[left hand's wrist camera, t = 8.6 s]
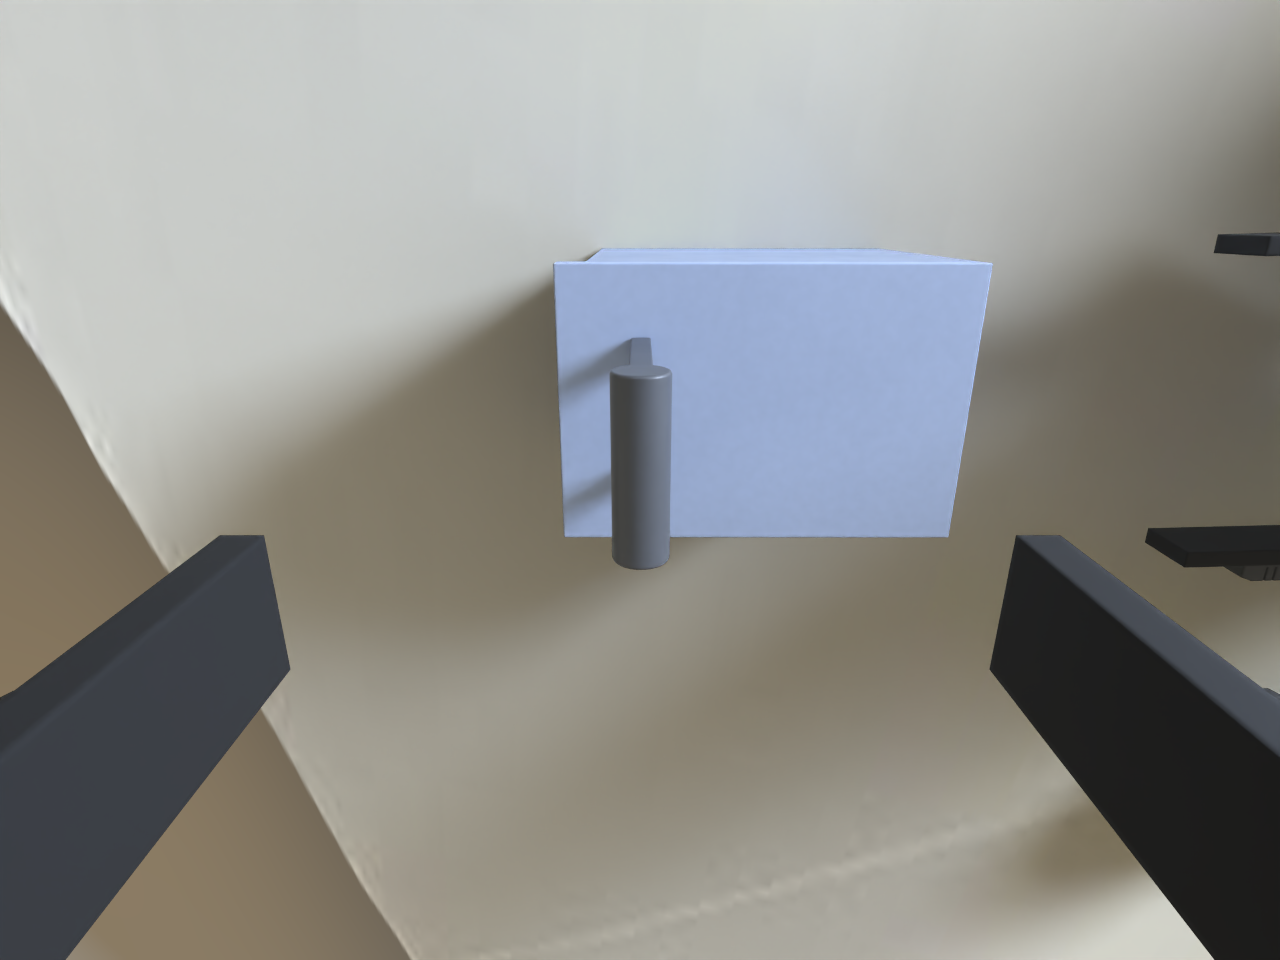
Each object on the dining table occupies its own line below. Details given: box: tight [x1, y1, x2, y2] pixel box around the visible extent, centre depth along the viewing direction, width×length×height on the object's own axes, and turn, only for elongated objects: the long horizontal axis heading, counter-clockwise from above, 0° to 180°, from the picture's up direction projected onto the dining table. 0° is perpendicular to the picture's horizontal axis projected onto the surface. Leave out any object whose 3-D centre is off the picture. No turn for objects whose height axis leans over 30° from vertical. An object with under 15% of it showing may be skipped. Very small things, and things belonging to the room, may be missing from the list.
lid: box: [553, 262, 992, 570], centre depth 23 cm, size 15×10×8 cm
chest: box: [586, 249, 977, 262], centre depth 32 cm, size 14×10×11 cm
